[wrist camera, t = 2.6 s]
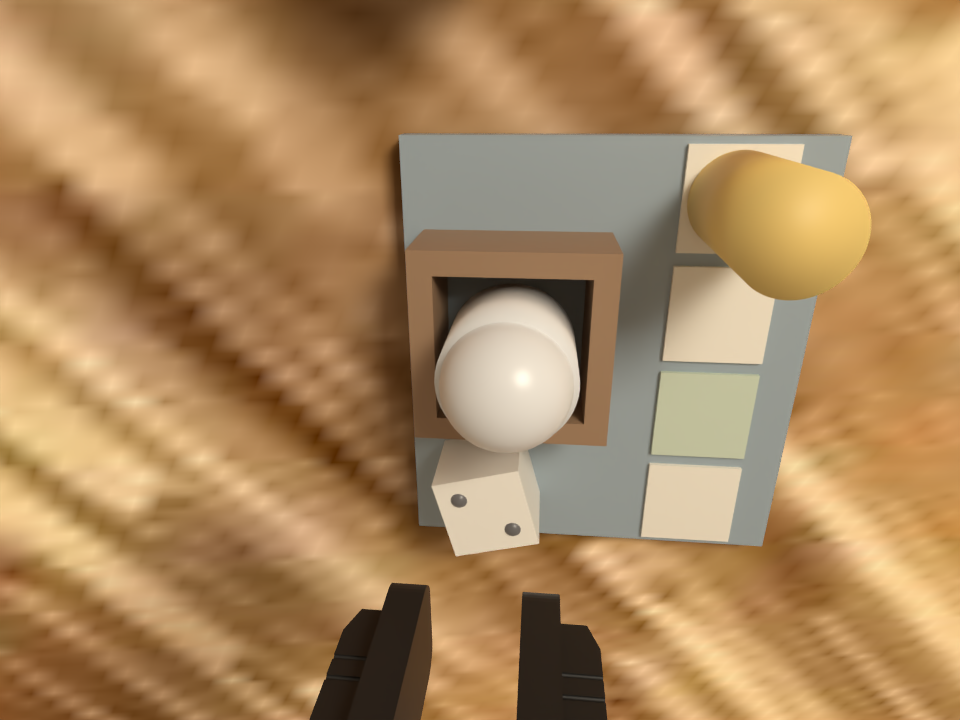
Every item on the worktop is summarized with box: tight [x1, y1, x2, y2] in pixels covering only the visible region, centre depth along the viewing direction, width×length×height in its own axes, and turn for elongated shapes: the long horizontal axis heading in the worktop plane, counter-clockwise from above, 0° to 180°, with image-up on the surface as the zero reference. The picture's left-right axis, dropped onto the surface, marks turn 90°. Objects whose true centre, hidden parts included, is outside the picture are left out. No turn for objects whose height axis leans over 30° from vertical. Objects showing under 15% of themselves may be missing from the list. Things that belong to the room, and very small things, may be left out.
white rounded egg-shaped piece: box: [434, 284, 580, 453], centre depth 23 cm, size 5×5×6 cm
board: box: [399, 133, 852, 546], centre depth 28 cm, size 20×18×5 cm
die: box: [432, 439, 540, 556], centre depth 30 cm, size 4×4×4 cm
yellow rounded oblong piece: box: [687, 150, 871, 300], centre depth 22 cm, size 4×4×7 cm
